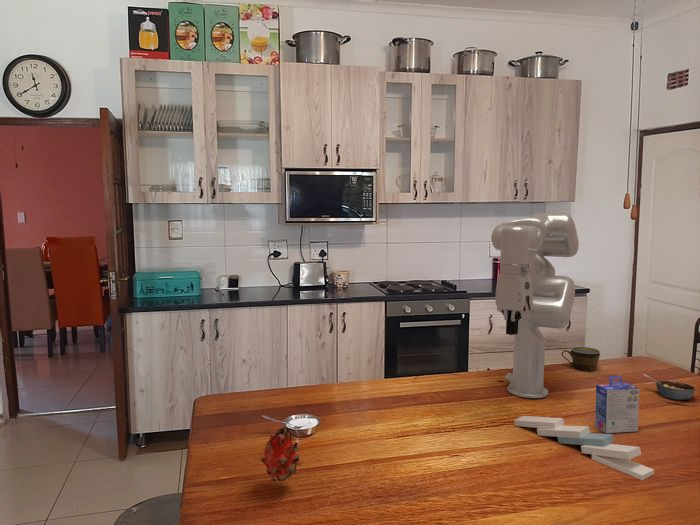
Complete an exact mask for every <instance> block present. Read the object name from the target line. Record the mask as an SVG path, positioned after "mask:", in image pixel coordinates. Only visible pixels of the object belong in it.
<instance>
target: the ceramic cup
mask: <svg viewBox="0 0 700 525" xmlns="http://www.w3.org/2000/svg"><path fill="white" fill-rule="evenodd" d="M564 353H568V354H569V356H570V357H571V360H572V361H570V360H569V359H568V358H566V357H565V356H564ZM561 356H562V357H563V358H564V359H565V360H566V361H567V362H568V363H569V364H570V365H571V367H573V369H575V370H577V371H578V372H584V373H593V372H596V371H597V368H598V364H599V360H600V357H601V350H599V349H597V348H593V347H587V346H574V347H571V348H570V350H567V349H565V350H563V351H562V352H561Z"/></svg>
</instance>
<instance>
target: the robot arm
mask: <svg viewBox="0 0 700 525" xmlns="http://www.w3.org/2000/svg"><path fill="white" fill-rule="evenodd" d="M490 239H491V244H492V247H493V248H494V249H495V250H497V251H500V258H499V259H500V264H499V274H498V275H497V276H498V277H497V281H496V285H495V286H496V287H495V302H494V303H495V307H496V310H497V311H498V312H499V313H501V314H502V315H503V319H504V320H505V334H506V335H509V336H513V359H512V373H511V372H508V373H507V374H506V375H505V376H504V380H505V381H509V384H508V386H507V392H508V393H510V394H512V395H514V396H517V397H521V398H525V399H542V398H546V397H547V396H549V389H548V388H546V387H544V385H545V384H544V381H545V380H544V379H545V378H544V377H545V355H546V354H545V348H546V340H545V337H544V335H543V333H542V331H541V330H540V328H547V329H549V328H550V329H558V330H560V329H565V328H566V327H567V326H568V324H569V322H570V320H571V314H572V311H573V306H574V303H575V302H574V300H575V295H576V285H575V282H574V280H573V279H572V278H571V277H569V276H566V275H556V269H555V266H553V264H552V263H551V262H550V261H549V260H548V259H547V258H546V257H551V258H552V257H554V258H555V257H558V258H573V257H574V256H576V255H577V253H578V251H579V244H580V243H579V236H578V233H577V229H576V223H575V220H574V219H573V217H572V216H571V215H570V214H569V213H564V212H562V213H561V212H558V213H557V212H552V213H551V212H550V213H549V212H543V213H535V214H533V215H531V216H529V217H528V218H522V219H517V220H510V221H505V222H502V223H499V224H498V225H496V226H495V227H494V229H493V230H492V233H491V238H490Z"/></svg>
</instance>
